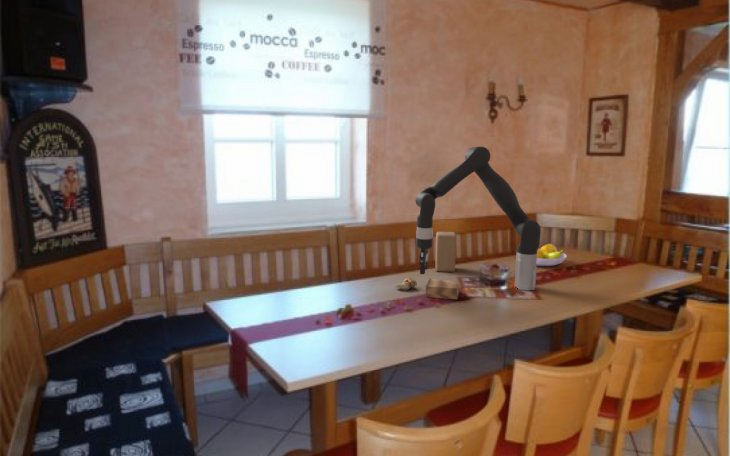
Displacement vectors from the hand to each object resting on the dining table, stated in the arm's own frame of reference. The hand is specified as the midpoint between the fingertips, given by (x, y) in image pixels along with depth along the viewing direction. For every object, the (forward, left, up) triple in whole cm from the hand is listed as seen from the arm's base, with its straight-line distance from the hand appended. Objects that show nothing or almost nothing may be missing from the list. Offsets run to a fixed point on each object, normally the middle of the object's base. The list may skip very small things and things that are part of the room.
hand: (423, 271), depth 240 cm
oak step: (-9, 0, -10) cm, 13 cm away
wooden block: (-6, -44, -10) cm, 46 cm away
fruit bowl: (-58, -71, -10) cm, 92 cm away
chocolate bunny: (+6, -8, -8) cm, 12 cm away
